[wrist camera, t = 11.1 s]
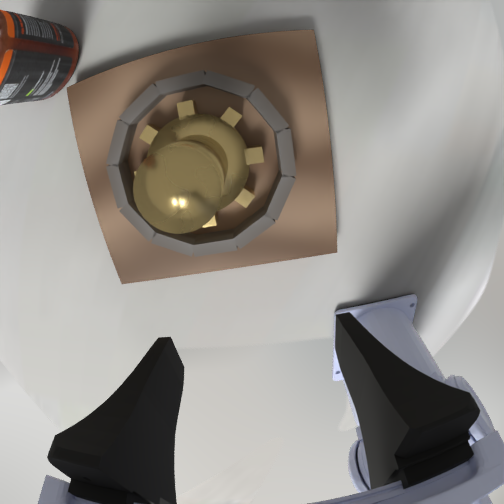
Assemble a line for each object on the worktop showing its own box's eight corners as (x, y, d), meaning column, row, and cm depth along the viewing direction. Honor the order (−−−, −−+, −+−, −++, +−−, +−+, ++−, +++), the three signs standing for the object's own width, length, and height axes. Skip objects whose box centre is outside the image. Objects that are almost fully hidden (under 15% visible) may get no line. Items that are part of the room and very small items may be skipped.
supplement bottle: (42, 21, 12) (-63, 2, 2) (96, 34, 14) (-16, 0, 4) (13, 90, 15) (-97, 109, 4) (61, 110, 16) (-60, 135, 6)
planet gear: (270, 210, 19) (283, 262, 13) (156, 229, 19) (121, 284, 13) (252, 90, 15) (258, 77, 9) (129, 117, 16) (73, 125, 10)
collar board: (332, 244, 21) (343, 263, 19) (126, 275, 22) (115, 296, 20) (309, 34, 15) (320, 23, 12) (75, 88, 15) (53, 87, 13)
